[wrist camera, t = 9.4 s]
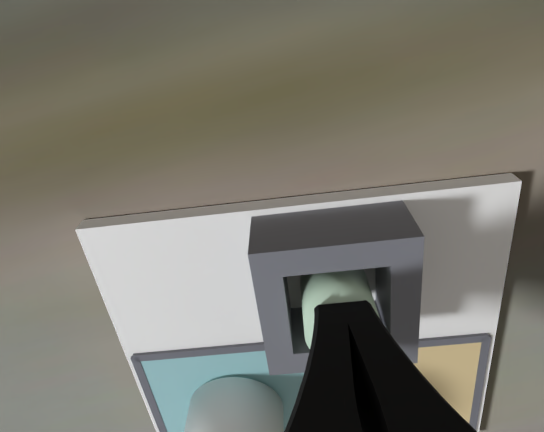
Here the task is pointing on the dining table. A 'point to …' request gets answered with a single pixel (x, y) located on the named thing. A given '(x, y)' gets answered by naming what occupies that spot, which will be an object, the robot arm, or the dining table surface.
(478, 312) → the picture board
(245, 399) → the jar with teal lid
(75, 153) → the dining table surface
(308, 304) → the button
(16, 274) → the dining table surface
